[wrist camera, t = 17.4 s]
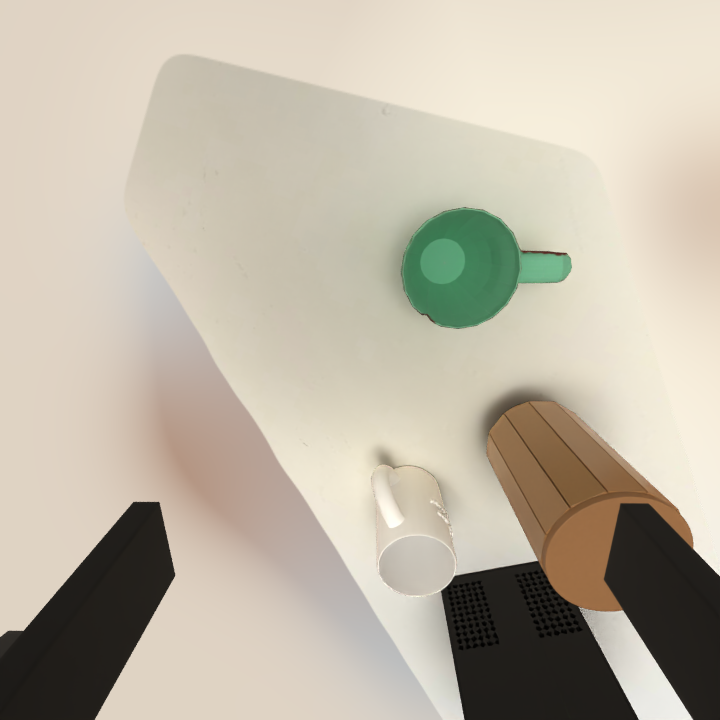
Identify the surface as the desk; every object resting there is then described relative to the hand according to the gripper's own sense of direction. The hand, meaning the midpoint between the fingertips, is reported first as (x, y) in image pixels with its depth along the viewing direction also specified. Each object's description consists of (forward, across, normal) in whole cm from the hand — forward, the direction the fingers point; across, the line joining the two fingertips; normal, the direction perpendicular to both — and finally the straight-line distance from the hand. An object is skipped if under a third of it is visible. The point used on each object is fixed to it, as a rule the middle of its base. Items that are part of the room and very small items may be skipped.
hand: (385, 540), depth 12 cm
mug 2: (+35, +9, +4) cm, 37 cm away
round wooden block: (+30, +17, -15) cm, 37 cm away
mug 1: (+35, +3, -22) cm, 41 cm away
